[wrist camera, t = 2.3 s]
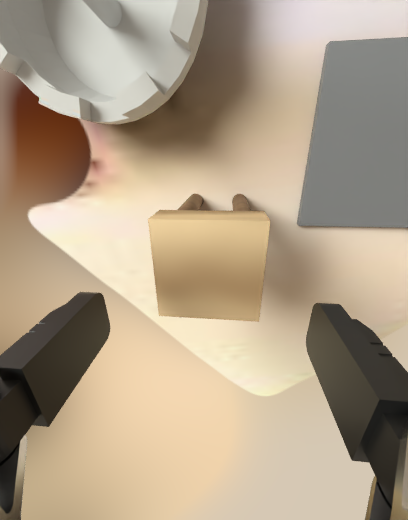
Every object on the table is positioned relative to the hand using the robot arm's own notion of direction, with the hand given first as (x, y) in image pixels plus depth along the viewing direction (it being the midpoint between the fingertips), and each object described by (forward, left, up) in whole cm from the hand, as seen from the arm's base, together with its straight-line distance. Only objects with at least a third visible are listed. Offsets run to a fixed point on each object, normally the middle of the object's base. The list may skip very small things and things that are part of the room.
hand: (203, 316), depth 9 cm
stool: (0, 0, -13) cm, 13 cm away
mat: (-6, +13, -13) cm, 19 cm away
